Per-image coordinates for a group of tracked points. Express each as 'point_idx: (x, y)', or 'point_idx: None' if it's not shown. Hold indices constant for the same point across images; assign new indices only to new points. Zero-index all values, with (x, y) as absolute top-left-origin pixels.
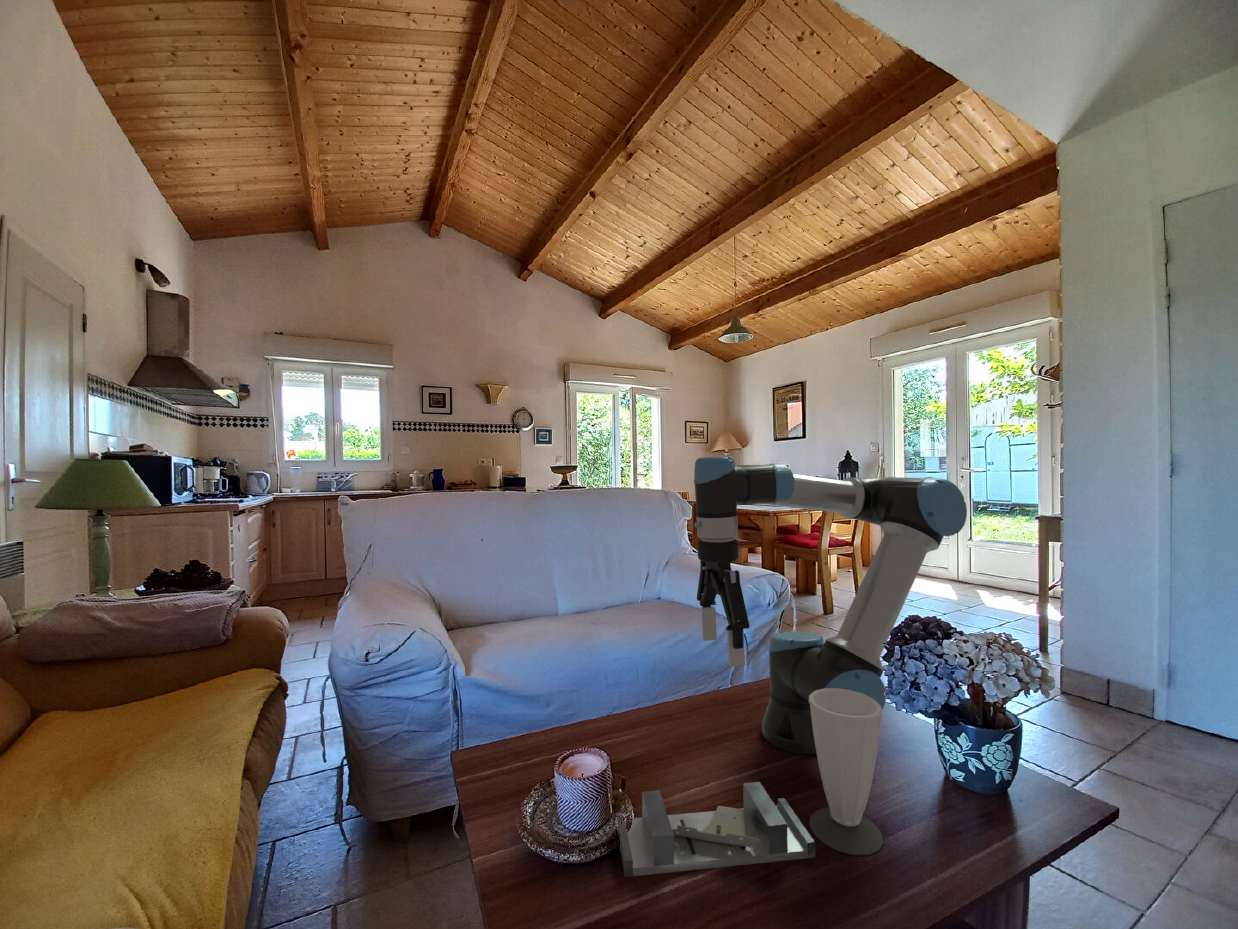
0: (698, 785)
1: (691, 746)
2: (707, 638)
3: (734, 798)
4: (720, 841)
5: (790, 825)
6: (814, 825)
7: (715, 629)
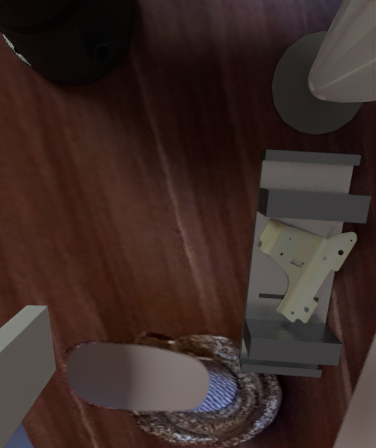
0: (180, 244)
1: (80, 221)
2: (46, 361)
3: (218, 206)
4: (315, 267)
5: (305, 163)
6: (302, 125)
7: (8, 350)
